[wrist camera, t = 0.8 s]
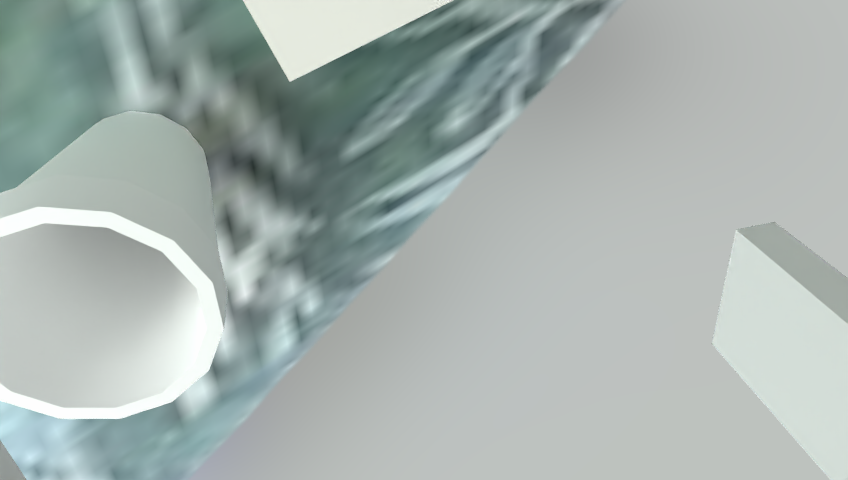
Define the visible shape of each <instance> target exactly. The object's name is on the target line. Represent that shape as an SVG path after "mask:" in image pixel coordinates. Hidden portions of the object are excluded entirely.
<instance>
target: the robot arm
mask: <svg viewBox="0 0 848 480" xmlns="http://www.w3.org/2000/svg"><path fill="white" fill-rule="evenodd" d="M712 345H713V346H714V347H715V348H716V349H717V350H718V351H719V353H720V354H721V355H722V356H723V357H724V358H725V359H726V361H727V362H728V363H729V364H730V365H731V366H732V367H733V369H734V370H735V371H736V372H737V373H738V374H739V375H740V377H741V378H742V379H743V380H744V381H745V382H746V383H747V385H748V386H749V387H750V388H751V389H752V390H753V391H754V393H755V394H756V395H757V396H758V397H759V398H760V400H761V401H762V402H763V403H764V404H765V405H766V407H767V408H768V409H769V410H770V411H771V412H772V413H773V414H774V416H775V417H776V418H777V419H778V420H779V421H780V423H782V425H783V426H784V427H785V428H786V429H787V431H788V432H789V433H790V434H791V435H792V436H793V437H794V439H795V440H796V441H797V442H798V443H799V444H800V445H801V447H802V448H803V449H804V450H805V451H806V452H807V454H808V455H809V456H810V457H811V458H812V459H813V460H814V462H815V463H816V464H817V465H818V466H819V467H820V468H821V470H822V471H823V472H824V473H825V474H826V475H827V477H828V478H829V479H830V480H848V278H847V277H846V276H844V275H843V274H842V273H841V272H839V271H838V270H837V269H835V268H834V267H833V266H831V265H830V264H829V263H827V262H826V261H825V260H823V259H822V258H821V257H820V256H818V255H817V254H815V253H814V252H813V251H812V250H811V249H809V248H808V247H807V246H805V245H804V244H803V243H801V242H800V241H799V240H797V239H796V238H795V237H793V236H792V235H791V234H790V233H788V232H787V231H786V230H784V229H783V228H782V227H780V226H779V225H778V224H777V223H775V222H772V223H768V224H763V225H757V226H752V227H747V228H741V229H736V232H735V237H734V241H733V246H732V251H731V256H730V260H729V265H728V270H727V274H726V279H725V284H724V289H723V294H722V298H721V303H720V308H719V313H718V317H717V322H716V327H715V331H714V336H713V341H712ZM0 480H26V478H25V477H24V475H23V474H22V472H21V471H20V469H19V468H18V466H17V465H16V463H15V462H14V460H13V459H12V457H11V456H10V454H9V453H8V451H7V450H6V448H5V447H4V445H3V444H2V442H1V441H0Z"/></svg>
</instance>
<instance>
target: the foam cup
mask: <svg viewBox="0 0 848 480" xmlns="http://www.w3.org/2000/svg"><path fill="white" fill-rule="evenodd" d="M209 175H210V174H209V170H208V165H207V161H206V156H205V152H204V149H203V148H202V147H201V146H200V144H199V143H198V142H197V141H196V139H195V138H194V137H193V136H192V134H191V133H190V132H189V131H188V129H187V128H185V127H183V126H181V125H179V124H177V123H176V122H174V121H172V120H170V119H168V118H166V117H165V116H163V115H161V114H155V113H146V112H137V111H127V112H124V113H120V114H117V115H114V116H111V117H107V118H104V119H102V120H101V121H100V122H97V123H96V124H95V125H94V126H92V127H91V128H90V129H89V130H87V131H86V132H85V133H84V134H82V135H81V136H80V137H79V138H77V139H76V140H75V141H74V142H72V143H71V144H70V145H69V146H67V147H66V148H65V149H64V150H63V151H61V152H60V153H59V154H58V155H56V156H55V157H54V158H53V159H51V160H50V161H49V162H48V163H46V164H45V165H44V166H43V167H41V168H40V169H39V170H38V171H36V172H35V173H34V174H33V175H31V176H30V177H29V178H28V179H26V180H25V181H24V182H23V183H21V184H20V185H19V186H18V187H16V188H14V189H11V190H8V191H5V192H2V193H0V401H3V402H6V403H9V404H13V405H16V406H19V407H23V408H26V409H29V410H33V411H36V412H39V413H43V414H46V415H49V416H53V417H56V418H59V419H121V418H124V417H127V416H130V415H133V414H136V413H139V412H142V411H145V410H149V409H152V408H155V407H158V406H161V405H164V404H167V403H170V402H172V401H174V400H175V399H176V398H177V397H178V396H179V395H181V394H182V393H183V392H184V391H185V390H187V389H188V388H189V387H190V386H191V385H192V384H194V383H195V382H196V381H197V380H198V379H199V378H201V377H202V376H203V375H204V374H205V373H207V372H208V371H209V368H210V366H211V363H212V360H213V358H214V355H215V352H216V349H217V347H218V344H219V341H220V338H221V336H222V333H223V330H224V324H225V314H226V305H227V295H228V291H227V287H226V282H225V278H224V273H223V269H222V265H221V260H220V256H219V251H218V244H217V235H216V226H215V217H214V208H213V199H212V190H211V181H210V176H209Z"/></svg>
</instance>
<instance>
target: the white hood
mask: <svg viewBox="0 0 848 480" xmlns="http://www.w3.org/2000/svg"><path fill="white" fill-rule="evenodd" d="M243 1H244V3H245V5H246V6H247V8H248V10H249V12H250V13H251V15H252V17H253V19H254V20H255V22H256V24H257V26H258V27H259V29H260V31H261V33H262V34H263V36H264V38H265V40H266V41H267V43H268V45H269V47H270V48H271V50H272V52H273V53H274V55H275V57H276V59H277V60H278V62H279V64H280V66H281V67H282V69H283V71H284V73H285V74H286V76H287V78H288V80H289V81H290V82H291V81H293V80H295V79H297V78H299V77H301V76H303V75H305V74H307V73H309V72H311V71H313V70H315V69H317V68H319V67H321V66H323V65H325V64H327V63H329V62H331V61H333V60H335V59H337V58H339V57H341V56H343V55H345V54H347V53H349V52H351V51H353V50H355V49H357V48H359V47H361V46H363V45H365V44H367V43H369V42H371V41H373V40H375V39H377V38H379V37H381V36H383V35H385V34H387V33H389V32H391V31H393V30H395V29H397V28H399V27H401V26H403V25H405V24H407V23H409V22H411V21H413V20H415V19H417V18H419V17H421V16H423V15H425V14H427V13H429V12H431V11H433V10H435V9H437V8H439V7H441V6H443V5H445V4H447V3H449V2H451V1H453V0H243Z"/></svg>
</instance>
